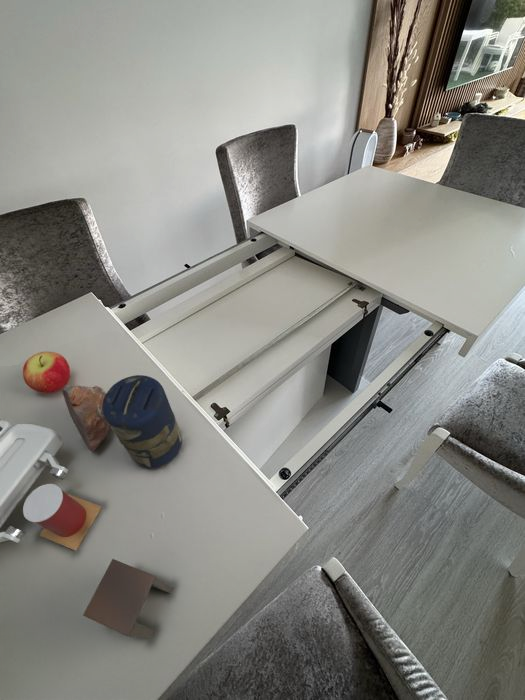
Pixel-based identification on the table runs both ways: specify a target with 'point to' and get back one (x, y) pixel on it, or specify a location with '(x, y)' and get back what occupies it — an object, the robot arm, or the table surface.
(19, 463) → the robot arm
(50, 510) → the tube
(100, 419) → the stone
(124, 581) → the brown wooden stand
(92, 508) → the coaster
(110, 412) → the canister
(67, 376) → the apple
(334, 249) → the table surface
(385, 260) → the table surface
